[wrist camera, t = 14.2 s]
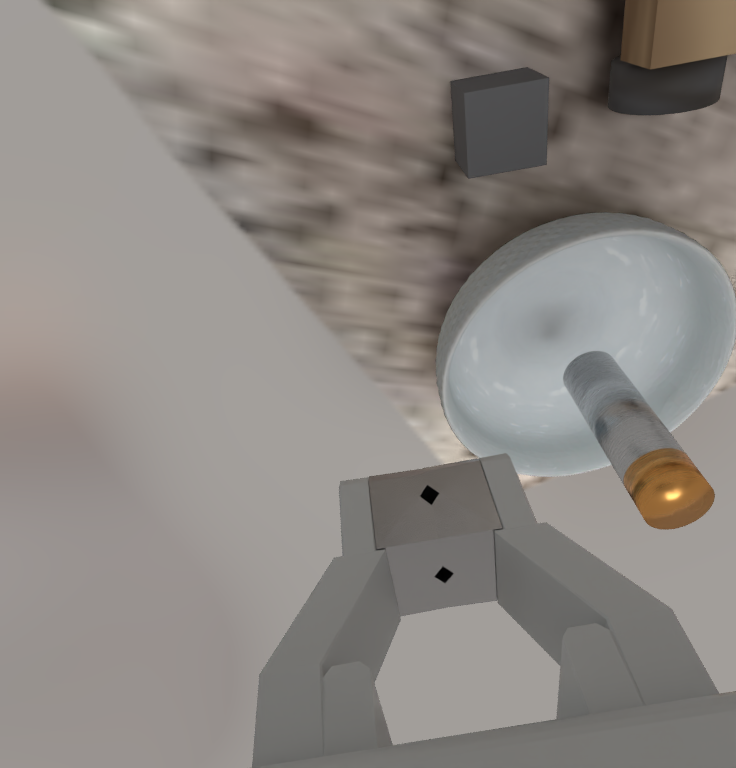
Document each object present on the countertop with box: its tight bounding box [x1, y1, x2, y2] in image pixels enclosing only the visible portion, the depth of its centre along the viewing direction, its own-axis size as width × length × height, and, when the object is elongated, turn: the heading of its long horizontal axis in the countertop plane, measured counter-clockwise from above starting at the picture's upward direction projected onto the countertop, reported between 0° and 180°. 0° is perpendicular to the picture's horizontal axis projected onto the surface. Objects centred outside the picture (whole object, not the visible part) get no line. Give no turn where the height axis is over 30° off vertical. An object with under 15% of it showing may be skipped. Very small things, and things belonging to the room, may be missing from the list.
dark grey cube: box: [450, 67, 549, 179], centre depth 30 cm, size 4×4×4 cm
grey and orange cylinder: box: [563, 351, 715, 529], centre depth 29 cm, size 3×3×10 cm
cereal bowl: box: [436, 212, 736, 477], centre depth 36 cm, size 17×17×7 cm
